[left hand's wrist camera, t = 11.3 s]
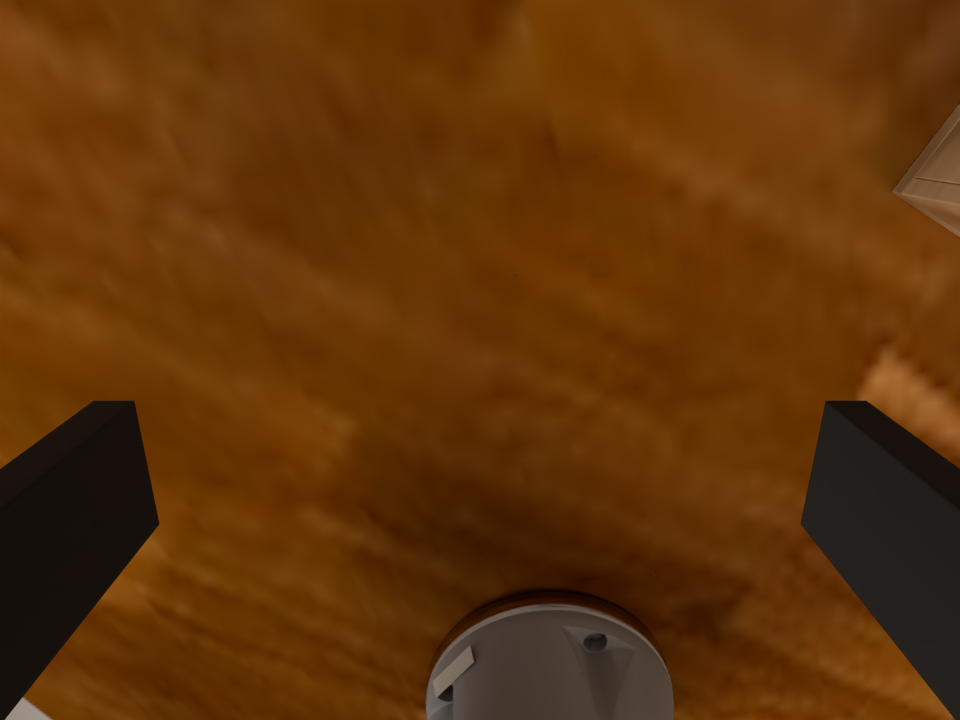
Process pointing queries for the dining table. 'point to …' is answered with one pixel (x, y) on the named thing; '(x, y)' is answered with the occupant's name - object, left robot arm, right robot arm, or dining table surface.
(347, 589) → the dining table surface
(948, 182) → the chest
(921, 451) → the left robot arm
